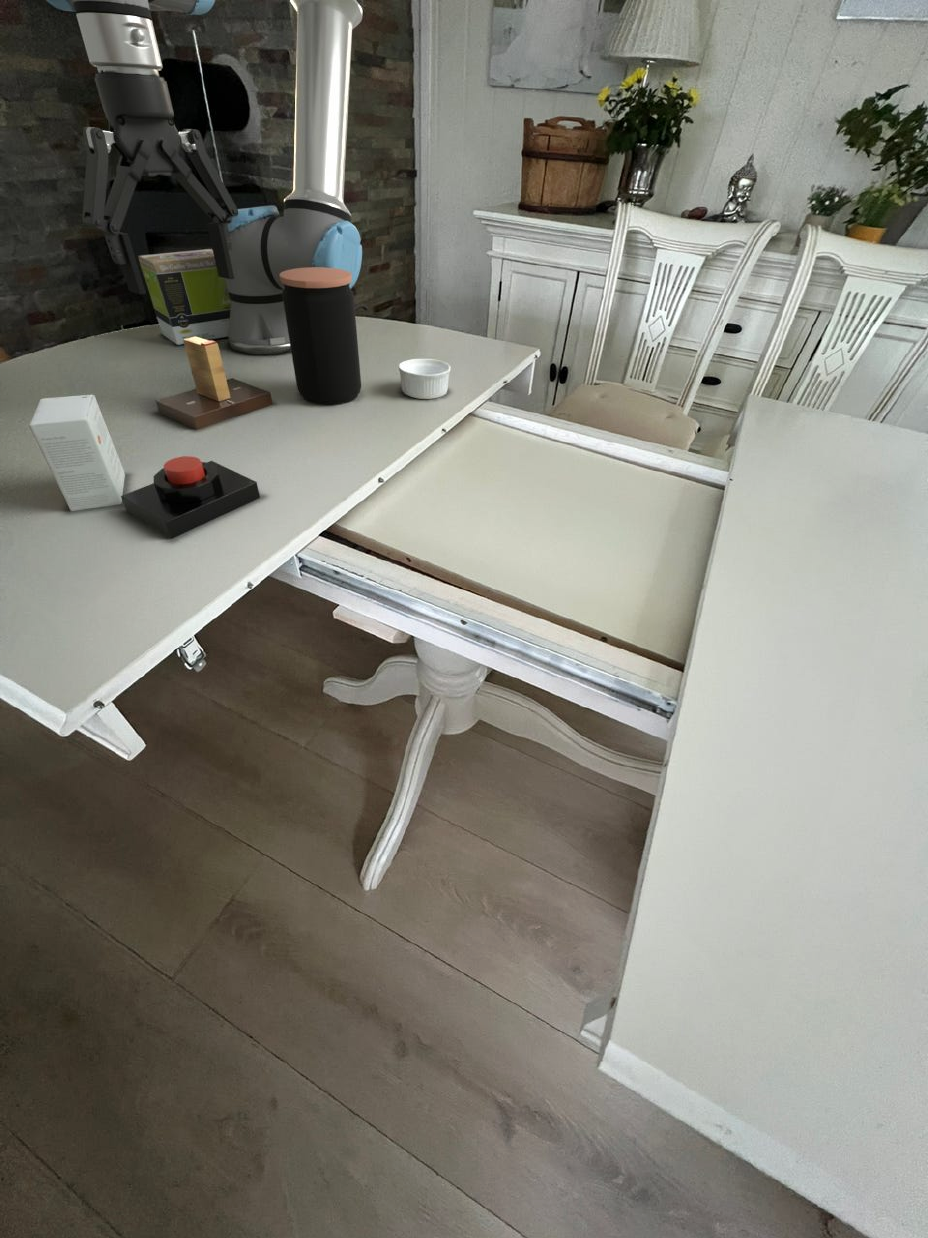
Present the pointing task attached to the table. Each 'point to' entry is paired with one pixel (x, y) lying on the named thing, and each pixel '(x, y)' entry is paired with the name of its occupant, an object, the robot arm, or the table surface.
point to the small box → (79, 451)
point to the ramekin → (424, 378)
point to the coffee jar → (322, 334)
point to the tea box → (187, 294)
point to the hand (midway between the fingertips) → (184, 284)
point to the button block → (190, 499)
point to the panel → (213, 405)
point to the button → (184, 470)
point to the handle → (207, 368)
